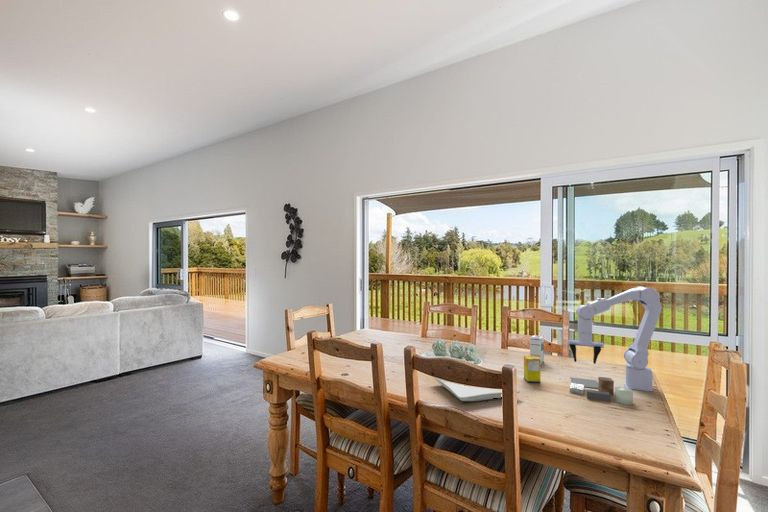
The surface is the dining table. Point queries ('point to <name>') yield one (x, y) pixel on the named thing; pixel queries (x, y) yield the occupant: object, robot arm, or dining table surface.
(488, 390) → the square plate
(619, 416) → the dining table surface
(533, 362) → the supplement box
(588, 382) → the slate coaster
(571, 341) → the robot arm
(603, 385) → the walnut block
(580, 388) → the grey topped wooden block
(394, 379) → the dining table surface
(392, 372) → the dining table surface
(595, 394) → the charcoal rubber bar
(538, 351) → the syrup box
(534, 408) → the dining table surface
